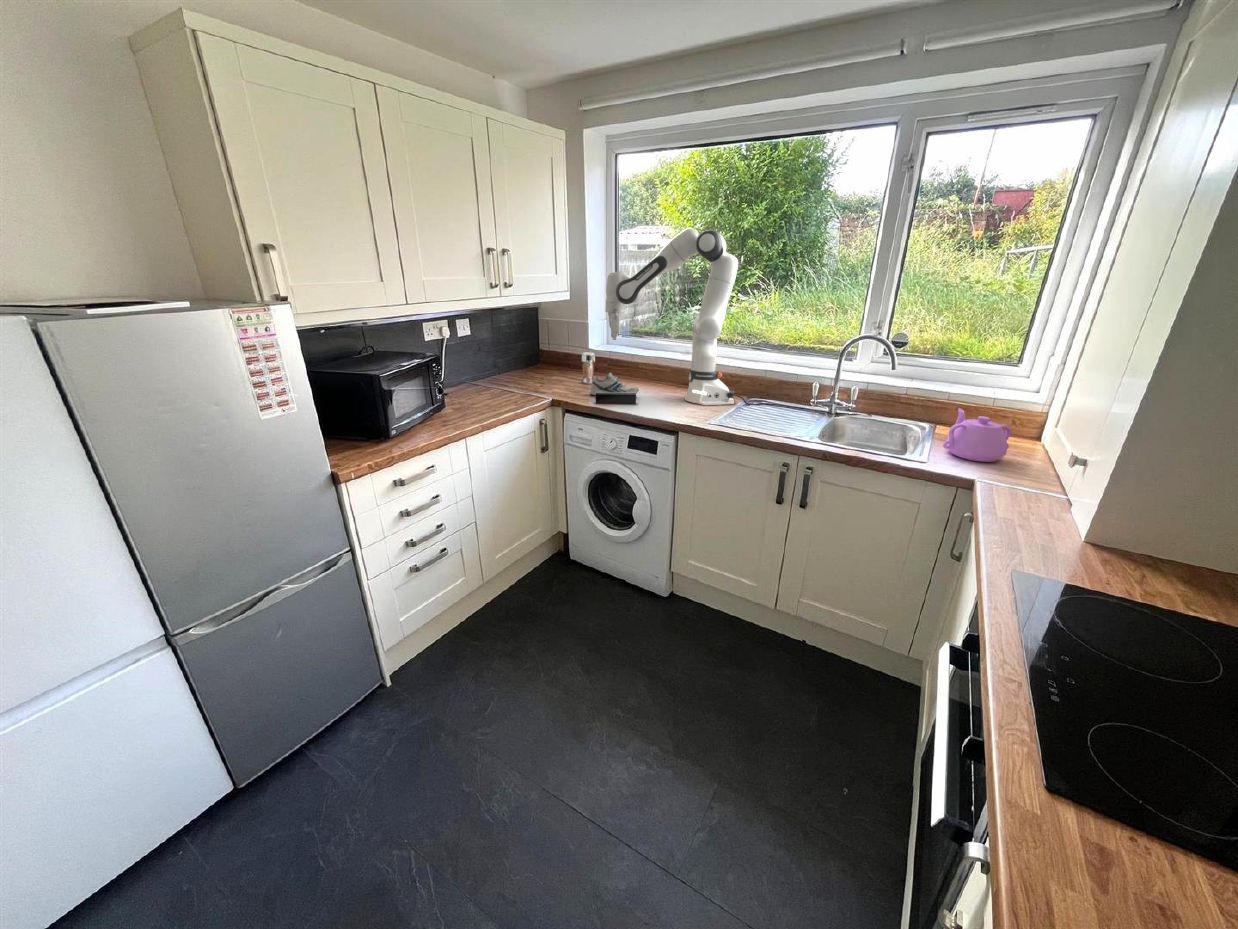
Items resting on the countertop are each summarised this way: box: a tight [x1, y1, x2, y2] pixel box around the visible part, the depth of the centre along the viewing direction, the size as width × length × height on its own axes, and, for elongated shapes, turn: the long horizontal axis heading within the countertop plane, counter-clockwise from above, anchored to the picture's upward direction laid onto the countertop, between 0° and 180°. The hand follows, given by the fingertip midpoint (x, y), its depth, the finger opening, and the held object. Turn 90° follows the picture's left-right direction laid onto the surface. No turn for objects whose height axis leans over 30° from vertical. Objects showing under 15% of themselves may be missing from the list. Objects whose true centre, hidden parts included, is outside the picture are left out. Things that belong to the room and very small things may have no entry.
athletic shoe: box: [589, 372, 640, 397], centre depth 234 cm, size 10×23×12 cm, turn 89°
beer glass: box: [581, 352, 596, 385], centre depth 258 cm, size 7×7×15 cm
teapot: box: [942, 407, 1012, 463], centre depth 170 cm, size 22×22×14 cm
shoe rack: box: [595, 392, 637, 405], centre depth 221 cm, size 18×2×5 cm, turn 94°
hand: (613, 338), depth 239 cm, fingers open, 8 cm apart
